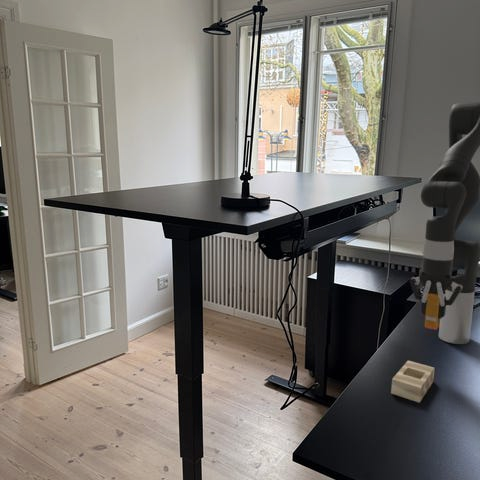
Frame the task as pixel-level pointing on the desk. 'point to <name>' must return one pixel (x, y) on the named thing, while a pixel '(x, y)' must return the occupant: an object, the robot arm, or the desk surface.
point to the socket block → (412, 381)
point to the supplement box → (432, 311)
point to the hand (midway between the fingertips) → (432, 316)
